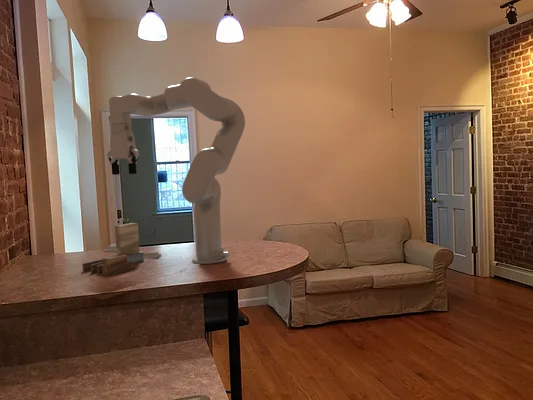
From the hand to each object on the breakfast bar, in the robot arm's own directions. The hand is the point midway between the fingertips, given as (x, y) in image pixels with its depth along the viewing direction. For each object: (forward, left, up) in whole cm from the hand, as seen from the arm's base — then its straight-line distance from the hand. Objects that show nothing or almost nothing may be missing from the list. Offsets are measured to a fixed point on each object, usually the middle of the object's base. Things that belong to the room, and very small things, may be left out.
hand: (124, 174), depth 178 cm
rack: (-13, +20, -33) cm, 41 cm away
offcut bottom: (-17, +20, -32) cm, 41 cm away
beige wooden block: (-9, +8, -32) cm, 34 cm away
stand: (-9, +8, -33) cm, 35 cm away
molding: (+11, -12, -34) cm, 38 cm away
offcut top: (-17, +20, -30) cm, 39 cm away
